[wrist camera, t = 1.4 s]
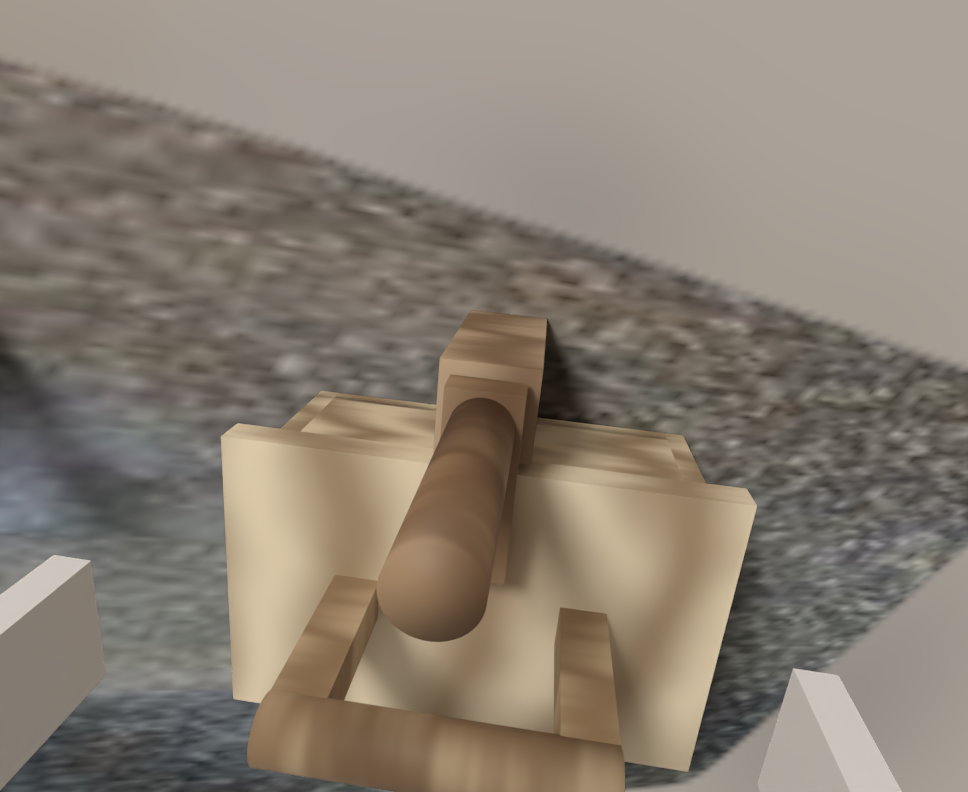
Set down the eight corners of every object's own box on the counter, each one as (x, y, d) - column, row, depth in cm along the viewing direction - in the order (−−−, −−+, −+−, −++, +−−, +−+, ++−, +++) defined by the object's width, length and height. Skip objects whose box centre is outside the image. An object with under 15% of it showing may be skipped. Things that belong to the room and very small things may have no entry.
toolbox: (320, 572, 40) (252, 686, 31) (322, 293, 35) (240, 334, 26) (644, 619, 39) (670, 752, 30) (703, 336, 33) (757, 395, 24)
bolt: (436, 553, 28) (358, 798, 17) (450, 374, 25) (367, 527, 14) (506, 563, 27) (473, 818, 16) (528, 383, 25) (505, 546, 14)
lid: (255, 662, 34) (120, 880, 24) (247, 415, 30) (75, 548, 19) (678, 728, 33) (736, 993, 22) (740, 478, 28) (850, 662, 17)
